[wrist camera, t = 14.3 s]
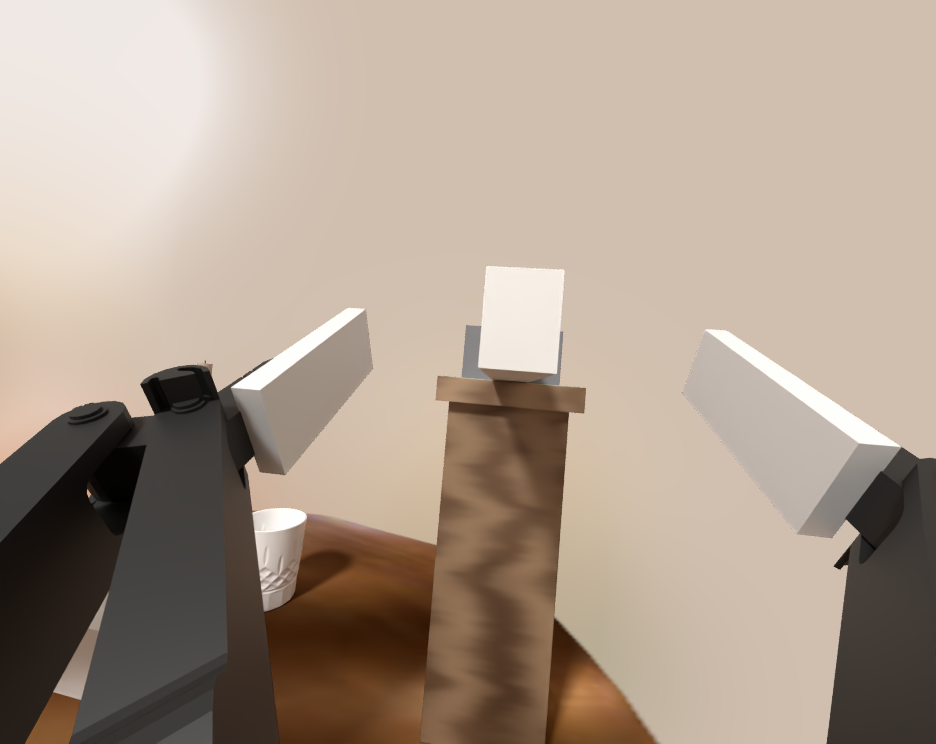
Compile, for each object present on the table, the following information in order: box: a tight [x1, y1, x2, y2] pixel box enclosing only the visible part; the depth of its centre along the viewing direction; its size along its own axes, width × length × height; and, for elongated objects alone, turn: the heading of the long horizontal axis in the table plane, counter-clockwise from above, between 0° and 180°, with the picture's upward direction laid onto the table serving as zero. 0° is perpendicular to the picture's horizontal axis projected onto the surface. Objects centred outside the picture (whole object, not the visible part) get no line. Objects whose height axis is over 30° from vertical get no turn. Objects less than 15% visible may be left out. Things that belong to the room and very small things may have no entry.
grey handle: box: [462, 266, 564, 386], centre depth 27 cm, size 9×27×5 cm, turn 174°
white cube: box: [53, 592, 109, 700], centre depth 33 cm, size 6×6×6 cm
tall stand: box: [420, 376, 586, 744], centre depth 35 cm, size 12×14×30 cm
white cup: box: [252, 508, 307, 612], centre depth 45 cm, size 8×8×10 cm
